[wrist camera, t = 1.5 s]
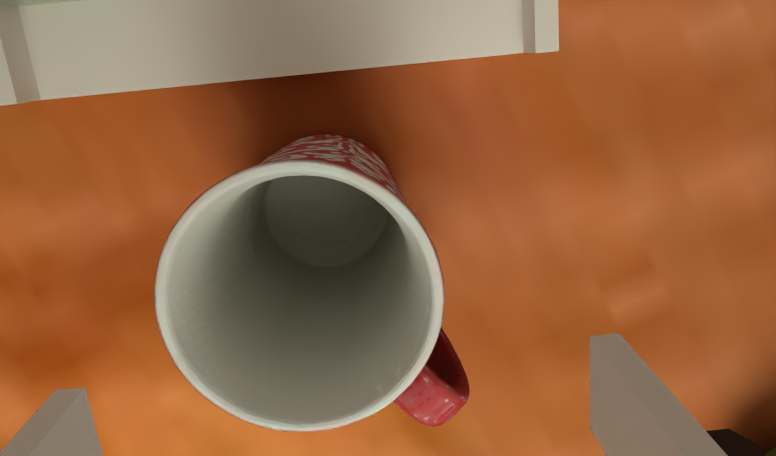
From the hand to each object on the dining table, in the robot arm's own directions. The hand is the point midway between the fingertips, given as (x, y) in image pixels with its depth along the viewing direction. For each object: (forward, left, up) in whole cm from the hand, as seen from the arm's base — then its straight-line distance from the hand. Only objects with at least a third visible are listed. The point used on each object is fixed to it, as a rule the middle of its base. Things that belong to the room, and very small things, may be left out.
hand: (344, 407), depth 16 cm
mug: (0, 0, -17) cm, 17 cm away
